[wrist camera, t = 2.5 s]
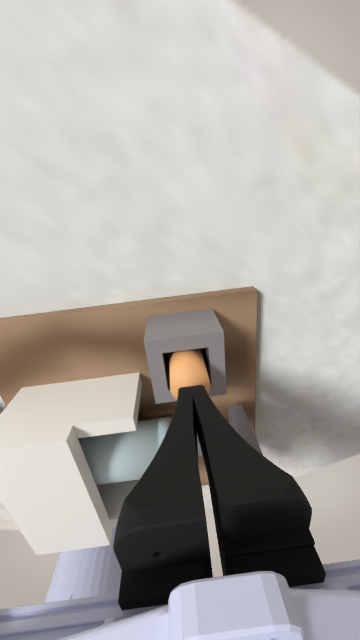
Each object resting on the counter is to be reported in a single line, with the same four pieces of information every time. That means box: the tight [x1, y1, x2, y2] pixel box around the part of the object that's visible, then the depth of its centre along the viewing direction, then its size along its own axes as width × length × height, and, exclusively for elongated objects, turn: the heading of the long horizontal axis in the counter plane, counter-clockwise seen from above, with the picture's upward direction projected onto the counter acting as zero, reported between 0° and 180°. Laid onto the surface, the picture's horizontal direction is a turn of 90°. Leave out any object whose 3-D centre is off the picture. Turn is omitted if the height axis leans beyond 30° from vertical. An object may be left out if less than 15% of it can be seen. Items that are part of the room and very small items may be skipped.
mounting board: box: [0, 286, 257, 486], centre depth 23 cm, size 22×22×1 cm
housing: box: [0, 308, 226, 555], centre depth 19 cm, size 17×16×6 cm
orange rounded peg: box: [169, 348, 210, 400], centre depth 16 cm, size 2×2×4 cm
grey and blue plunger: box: [78, 404, 262, 485], centre depth 20 cm, size 5×17×7 cm, turn 96°
